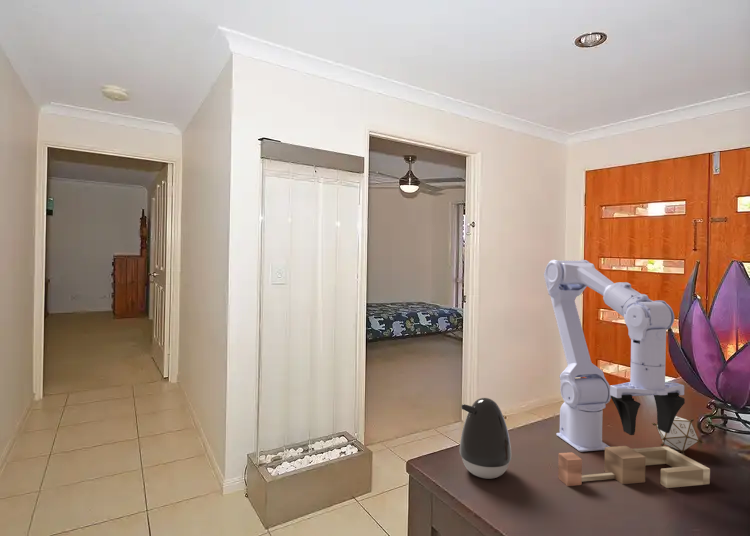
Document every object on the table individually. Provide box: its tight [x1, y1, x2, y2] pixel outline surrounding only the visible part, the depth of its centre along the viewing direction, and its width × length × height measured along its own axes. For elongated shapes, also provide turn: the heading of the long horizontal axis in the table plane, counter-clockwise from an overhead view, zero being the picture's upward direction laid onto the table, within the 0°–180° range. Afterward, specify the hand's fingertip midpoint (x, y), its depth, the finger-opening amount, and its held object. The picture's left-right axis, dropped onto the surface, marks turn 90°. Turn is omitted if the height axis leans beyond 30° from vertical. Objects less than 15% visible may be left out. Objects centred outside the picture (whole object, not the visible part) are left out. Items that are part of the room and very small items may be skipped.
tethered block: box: [557, 445, 646, 487], centre depth 84 cm, size 5×16×5 cm, turn 99°
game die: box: [651, 415, 705, 455], centre depth 98 cm, size 9×8×10 cm
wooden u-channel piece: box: [632, 445, 711, 489], centre depth 87 cm, size 10×10×3 cm
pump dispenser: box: [459, 397, 512, 480], centre depth 87 cm, size 10×10×15 cm
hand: (646, 432), depth 83 cm, fingers open, 7 cm apart
